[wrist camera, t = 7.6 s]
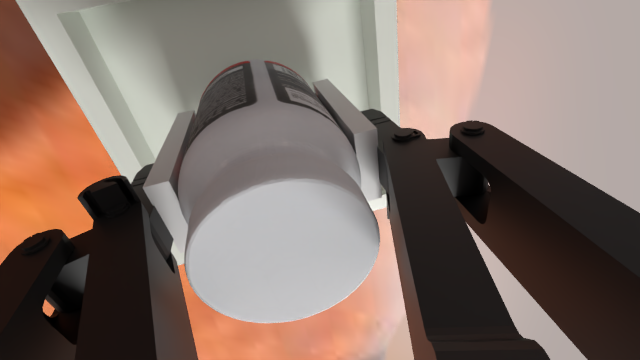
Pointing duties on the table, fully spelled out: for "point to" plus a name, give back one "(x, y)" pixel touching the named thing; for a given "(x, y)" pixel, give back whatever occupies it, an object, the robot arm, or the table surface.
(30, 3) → the tray
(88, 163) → the table surface
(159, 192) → the robot arm
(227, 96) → the pill bottle
